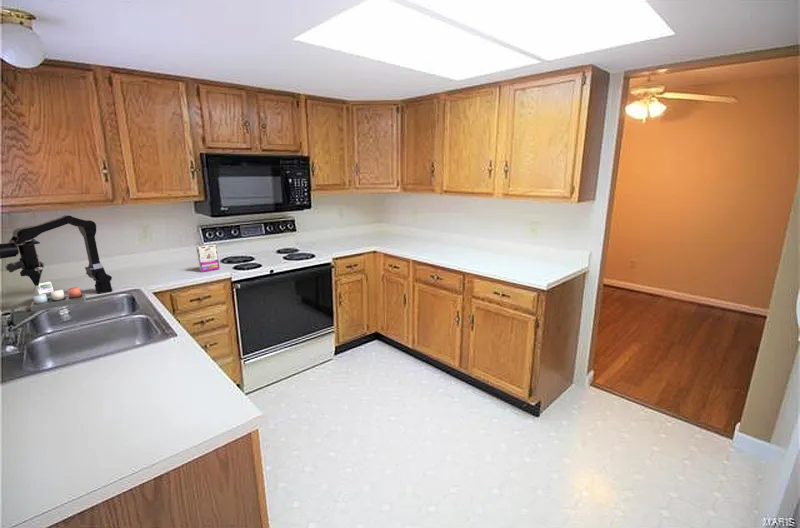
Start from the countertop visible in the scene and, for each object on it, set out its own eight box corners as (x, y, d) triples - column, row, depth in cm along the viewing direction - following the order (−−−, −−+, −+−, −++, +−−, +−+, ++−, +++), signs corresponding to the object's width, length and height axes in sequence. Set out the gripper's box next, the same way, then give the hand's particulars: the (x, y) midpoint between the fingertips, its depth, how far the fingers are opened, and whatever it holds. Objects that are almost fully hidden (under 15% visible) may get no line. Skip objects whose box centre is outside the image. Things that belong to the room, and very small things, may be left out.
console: (86, 297, 198) (85, 292, 198) (85, 302, 191) (83, 297, 190) (34, 305, 187) (33, 300, 186) (31, 311, 179) (29, 306, 179)
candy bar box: (217, 267, 254) (214, 244, 250) (219, 269, 251) (216, 245, 246) (199, 271, 247) (195, 246, 243) (201, 272, 243) (197, 247, 239)
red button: (81, 293, 195) (79, 286, 194) (81, 296, 191) (79, 288, 190) (70, 295, 192) (68, 288, 191) (69, 298, 189) (67, 290, 188)
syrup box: (48, 287, 199) (50, 280, 189) (51, 297, 199) (54, 291, 189) (33, 290, 194) (35, 283, 185) (37, 301, 194) (39, 294, 185)
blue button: (48, 301, 188) (46, 293, 187) (47, 303, 184) (45, 295, 183) (36, 303, 185) (33, 295, 184) (34, 305, 181) (32, 297, 180)
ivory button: (65, 296, 191) (63, 289, 190) (64, 299, 188) (62, 291, 187) (53, 298, 189) (51, 290, 188) (52, 301, 185) (50, 293, 184)
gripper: (8, 253, 181) (17, 284, 185) (0, 260, 166) (9, 294, 170) (40, 250, 187) (47, 280, 191) (34, 256, 173) (42, 289, 177)
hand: (37, 285), depth 182 cm, fingers closed
